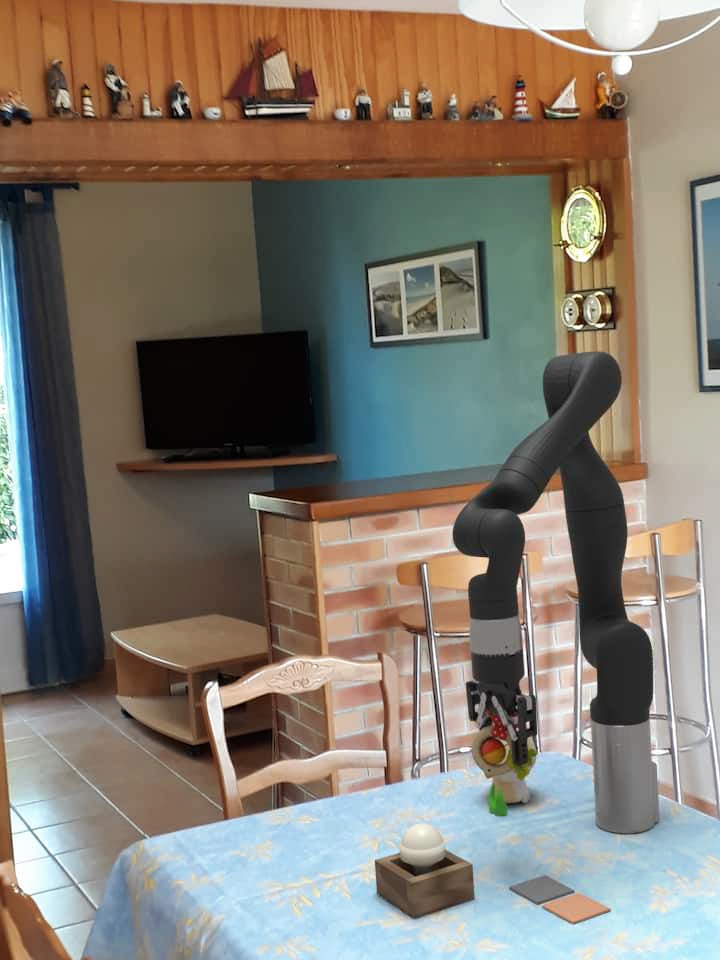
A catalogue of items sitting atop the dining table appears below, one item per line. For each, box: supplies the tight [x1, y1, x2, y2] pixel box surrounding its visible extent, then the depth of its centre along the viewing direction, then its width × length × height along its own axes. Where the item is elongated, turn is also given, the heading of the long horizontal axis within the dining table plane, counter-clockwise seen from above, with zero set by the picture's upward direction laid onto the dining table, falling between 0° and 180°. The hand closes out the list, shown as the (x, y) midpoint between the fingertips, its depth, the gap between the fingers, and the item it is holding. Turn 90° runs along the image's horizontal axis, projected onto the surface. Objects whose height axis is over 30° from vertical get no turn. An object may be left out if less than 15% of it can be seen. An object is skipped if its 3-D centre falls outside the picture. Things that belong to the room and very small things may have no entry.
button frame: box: [374, 849, 476, 920], centre depth 168 cm, size 10×10×5 cm
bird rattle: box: [471, 710, 538, 781], centre depth 173 cm, size 6×11×9 cm
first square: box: [508, 874, 575, 905], centre depth 168 cm, size 6×6×1 cm
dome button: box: [398, 822, 446, 877], centre depth 168 cm, size 6×6×7 cm
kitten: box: [488, 724, 539, 816], centre depth 204 cm, size 15×10×15 cm
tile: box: [541, 892, 612, 925], centre depth 162 cm, size 6×6×1 cm
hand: (504, 757), depth 173 cm, fingers closed on bird rattle, 7 cm apart
